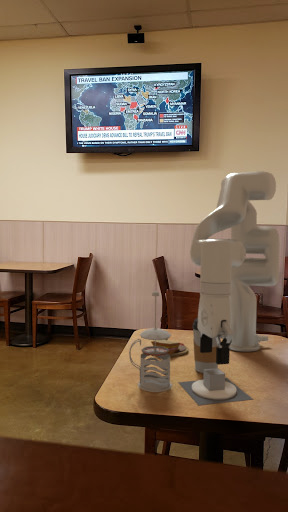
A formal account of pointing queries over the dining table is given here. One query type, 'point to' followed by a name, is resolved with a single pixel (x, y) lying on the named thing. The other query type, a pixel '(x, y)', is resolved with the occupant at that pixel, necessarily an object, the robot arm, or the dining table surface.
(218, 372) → the lid
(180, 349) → the toy sandwich meal
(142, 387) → the french press
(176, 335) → the dining table surface
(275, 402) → the dining table surface
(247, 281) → the robot arm
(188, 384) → the mat
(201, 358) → the coffee cup
